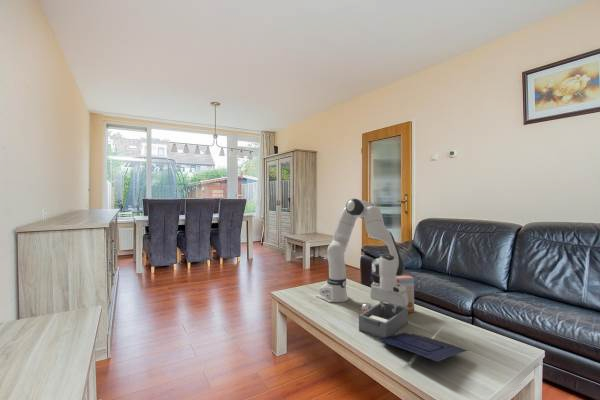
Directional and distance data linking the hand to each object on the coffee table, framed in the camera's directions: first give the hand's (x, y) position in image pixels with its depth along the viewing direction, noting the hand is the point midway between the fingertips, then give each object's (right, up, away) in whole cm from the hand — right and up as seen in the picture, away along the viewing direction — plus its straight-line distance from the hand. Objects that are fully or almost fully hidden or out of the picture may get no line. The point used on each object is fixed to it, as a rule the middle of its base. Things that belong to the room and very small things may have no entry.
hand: (388, 310), depth 154 cm
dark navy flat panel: (+5, -7, -28) cm, 30 cm away
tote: (-4, -7, -4) cm, 9 cm away
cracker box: (+13, -7, +17) cm, 22 cm away
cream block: (-9, -6, -9) cm, 14 cm away
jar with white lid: (-11, -7, +7) cm, 15 cm away
